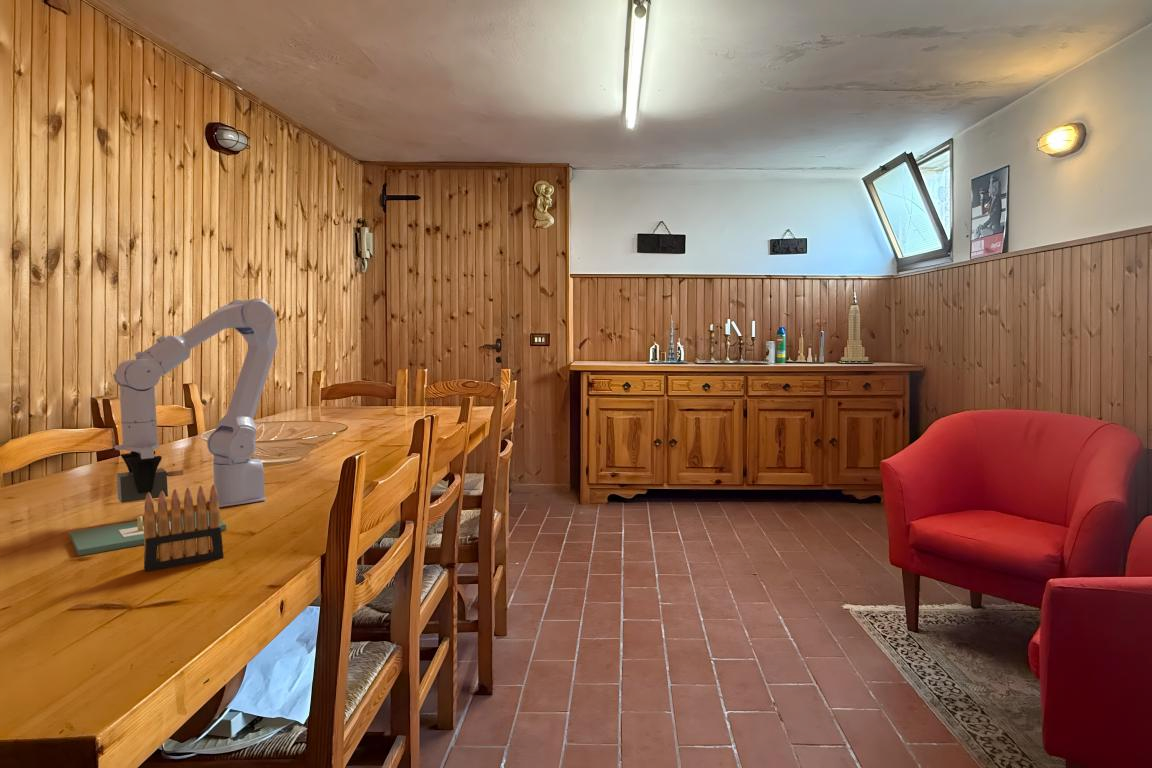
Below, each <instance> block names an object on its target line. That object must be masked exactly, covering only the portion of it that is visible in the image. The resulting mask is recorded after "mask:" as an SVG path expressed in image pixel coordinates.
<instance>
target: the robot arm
mask: <svg viewBox="0 0 1152 768" xmlns="http://www.w3.org/2000/svg"><path fill="white" fill-rule="evenodd" d="M276 318H277V314H276V313H275V310H274V309H273V308H272V306H271V305H270V303H269V302H267V301H266V300H265V299H263V298H262V299H261V298H258V297H257V298H251V299H243V300H242V299H234V300H232V301H230V302H229V303H227V304H224V305H223V306H220V307H219V308H218V309H216V310H214V311H213V312H211V313H210V314H208V316H206V317H204V318H203V319H202V320H200V321H199V322H198V323H196V324H195V325H193V326H192V327H190V328H189V329H188V330H186V331H184V333H182V334H181V335H179V336H178V335H172V334H171V335H167V336H166V337H165V335H164V336H159V337H157V338H156V339H155V341H156V343H155V344H153V345H152V346H150V347H149V348H146V349H145V350H144V351H137V352H135V353H134V356H135V359H127V360H124V361H122V362H121V363H119V364H118V366H117V369H115V372H114V373H113V379H114V381H115V383H116V384H117V385H118V386H119V395H120V399H119V404H120V420H121V421H120V423H121V438H122V439H121V440H122V444H117V445H114V447H115V448H114V450H116V451H122V450H123V451H128V452H129V453H122V454H120V457H121V458H122V460H123V462H124V463H125V465H126V467H127V470H128V472H133V475H134V478H135V483H136V487H137V490H138V492H139V494H141V493H148V492H152V489H153V484H154V478H155V473H156V470H157V469H158V467H159V465H160V463H161V461H162V458H163V457H162V456H161V455H156V451H155V450H156V449H158V448H159V447H160V442H159V441H158V427H157V426H158V425H157V424H158V423H157V405H156V402H157V401H156V393H155V390H156V389H155V387H156V386H157V385H158V383H159V382H160V380H161V378H162V377H163V376H165V375H166V374H168V373H169V372H171V371H172V370H173V369H175V368H177V367H178V366H180V365H181V364H183V363H184V362H186V361H187V360H188V359H190V357H191V352H192V349H193V348H195V347H197V346H199V345H200V344H202V343H204V342H205V341H207V340H208V339H210V338H212V337H214V336H215V335H217V334H219V333H220V332H222V331H224V330H225V329H234V330H235V331H237V332H238V333H239V334H241V336H242V337H243V338H244V341H246V343H247V345H248V348H247V351H246V354H245V357H244V360H243V363H242V367H241V370H240V373H239V374H238V375H239V376H238V377H237V378H238V379H237V382H236V385H235V388H234V390H233V394H232V396H231V398H230V399H231V400H230V403H229V406H228V409H227V412H226V414H225V415H224V416H223V417H222V418H221V419H220V420H219V421H218V422H217V425H216V428H215V430H213V431H212V433H210V434H209V436H208V439H207V443H206V444H207V449H208V451H209V453H210V454H211V455H213V459H212V465H213V466H212V467H213V469H212V470H213V485H215V487H216V490H217V494H218V503H219V508H223V507H231V506H236V505H244V504H249V503H257V502H263V501H266V500H267V499H266V497H265V496H266V494H265V493H266V492H265V472H264V471H265V470H264V465H263V462H262V460H261V459H260V458H252V456H253V455H254V453H255V451H256V447H257V444H256V443H257V442H256V434H257V427H256V424H255V421H254V418H255V415H256V413H257V410H258V406H259V403H260V400H261V398H262V394H263V391H264V387H265V384H266V381H267V378H268V375H269V372H270V369H271V366H272V362H273V359H274V357H275V354H276V350H277V347H278V337H277V332H276V331H277V330H276V324H275V322H276ZM208 501H209V502H210V498H208Z"/></svg>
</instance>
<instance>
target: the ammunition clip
mask: <svg viewBox="0 0 1152 768" xmlns="http://www.w3.org/2000/svg"><path fill="white" fill-rule="evenodd" d="M157 499H158V500H157V501H158V502H157V514H158V517H157V516H155V508H154V507H155V506H154V500H153V499H152V496H151V494H150V493H149V492H148V493H147V495H146V499H145V500H144V517H143V520H144V546H143V547H144V548H143V549H144V553H143V554H144V555H143V557H144V558H143V559H144V561H143V565H144V566H143V569H144V572H146V573H149V572H153V571H154V572H155V571H159V570H160V571H161V570H164V569H170V568H177V567H181V566H186V565H193V564H197V563H203V562H208V561H216V560H219V559H223V558H225V557H224V548H223V546H224V545H223V535H222V531H221V522H220V520H221V510H220V507H219V503H218V494H217V490H216V487H215V485H214V484H212V485H211V487H210V491H209V499H210V501H209V509H207V501H206V494H205V491H204V488H203V487H202V486H201V485H200V486H199V487H198V490H197V495H196V511H195V510H194V503H193V495H192V492H191V489H190V487H186V489H185V492H184V496H183V512H182V509H181V501H180V496H179V493H178V491H177V489H176V488H174V489H173V491H172V494H171V500H170V505H171V507H170V515H169V512H168V511H169V510H168V502H167V497H165V494H164V492H163V491H161V492H160V495H159V498H157ZM207 510H208V511H209V526H208V513H207ZM194 512H196V528H195V513H194ZM182 514H183V523H182ZM169 516H170V523H169ZM156 518H157V529H156ZM170 528H171V532H170ZM183 529H184V530H183Z"/></svg>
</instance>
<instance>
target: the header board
mask: <svg viewBox="0 0 1152 768" xmlns="http://www.w3.org/2000/svg"><path fill="white" fill-rule="evenodd" d="M194 513H195V528H196V511H194ZM207 513H208V526H209V509H207ZM181 514H182V523H183V513H181ZM170 516H171V515H169V523H170ZM157 517H158V513H156V517H155V518H156V529H157ZM220 522H221V532H224V531H227V524H226V523H225V522H223V521H222V520H221V519H220ZM183 530H184V529H183ZM170 532H171V528H170ZM69 538H70V541H71V543H72V545H73V547H74V550H75V551H76V554H77V555H78V557H81V556H87V555H92V554H98V553H103V552H108V551H109V552H111V551H114V550H120V549H125V548H131V547H136V546H142V545H144V517H143V516H142V515H141V516H137V517H136V520H134V521H127V522H123V523H122V522H121V523H115V524H109V525H103V526H101V525H100V526H95V527H90V528H88V527H87V528H84V529H83V528H82V529H77V530H70V531H69Z"/></svg>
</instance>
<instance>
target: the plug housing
mask: <svg viewBox="0 0 1152 768" xmlns="http://www.w3.org/2000/svg"><path fill="white" fill-rule="evenodd" d="M183 475H184V470H183V469H180V470H170V471H167V470H165V469H164V468H162V467H160V468H157V470H156V473H155V478H154V484H153V489H152V492H149V493H150V494H151V496H152V500H153V499H159V495H160V492H161V491H163V492H164V494H165V497H166V498H167V497H169V495H168V493H169V492H168V477H178V476H183ZM116 485H117V499H118V501H119V502H120V503H121V504H125V503H126V504H127V503H131V502H139V501H145V499H146V495H147V493H141V494H139V492H138V490H137V487H136V483H135V478H134V475H133V472H129V471H127V472H126V471H125V472H118V473H116Z"/></svg>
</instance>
